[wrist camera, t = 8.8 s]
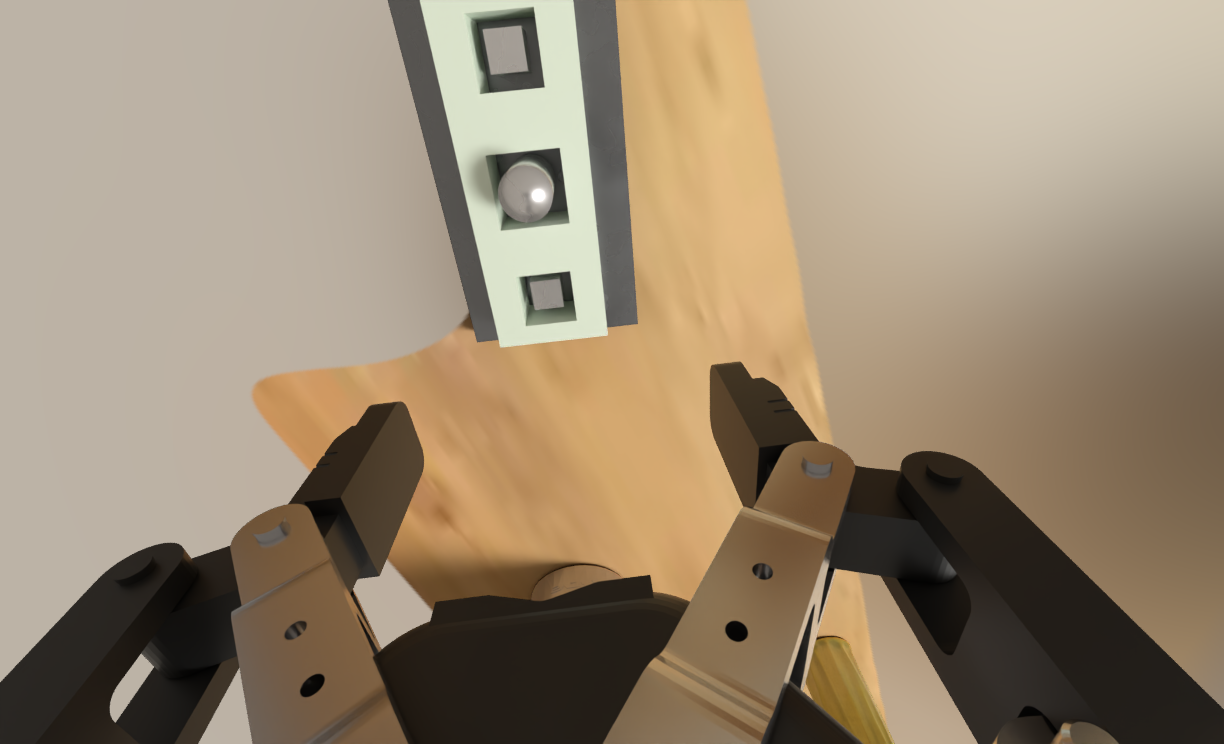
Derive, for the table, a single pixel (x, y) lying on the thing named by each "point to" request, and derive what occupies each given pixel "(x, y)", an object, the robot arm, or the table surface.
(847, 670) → the vase
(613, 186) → the base
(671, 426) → the table surface
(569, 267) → the flange bar
